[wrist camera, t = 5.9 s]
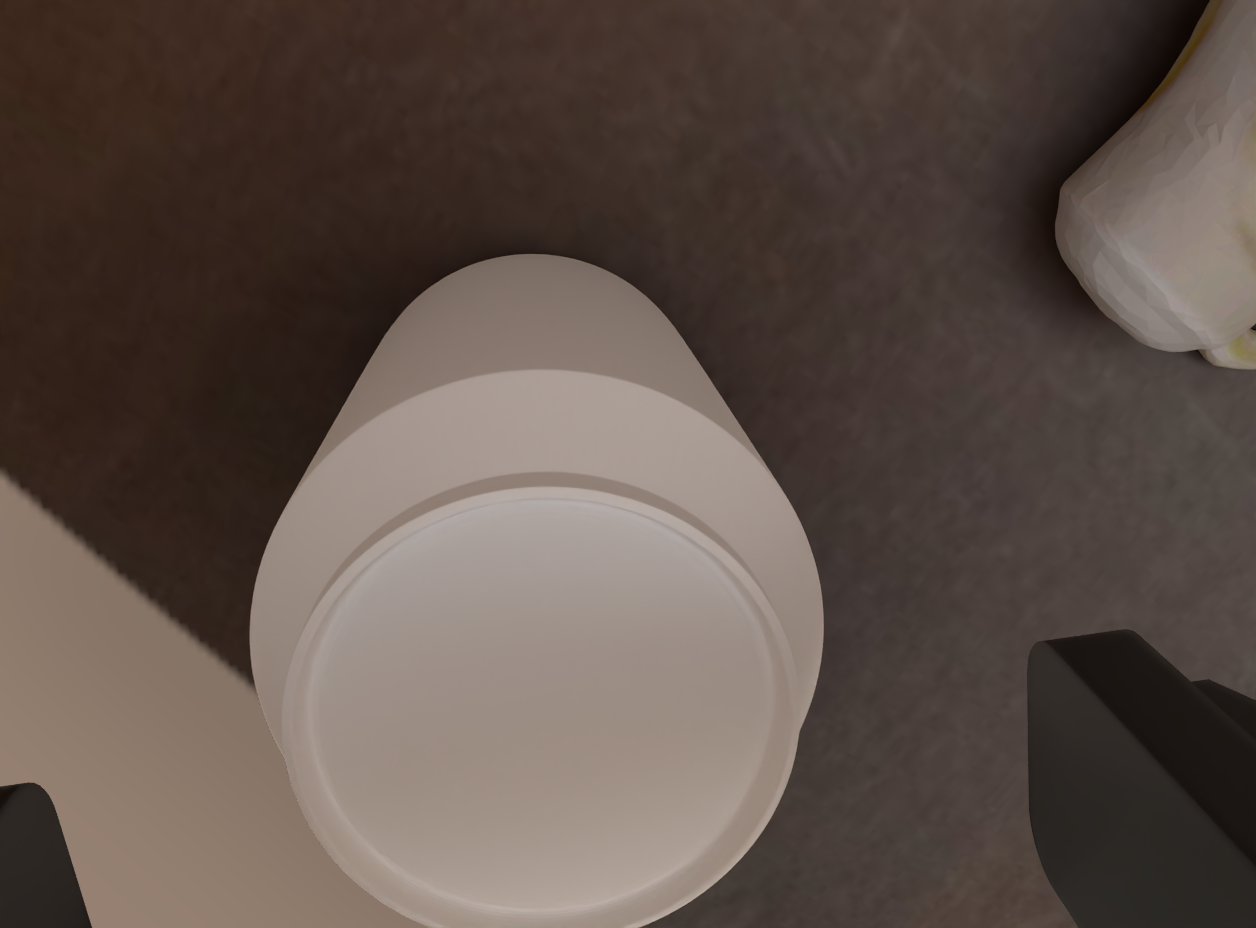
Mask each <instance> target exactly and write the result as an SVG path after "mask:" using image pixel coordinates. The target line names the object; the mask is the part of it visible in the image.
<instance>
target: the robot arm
mask: <svg viewBox="0 0 1256 928" xmlns="http://www.w3.org/2000/svg"><path fill="white" fill-rule="evenodd" d="M1027 690H1028V770H1029V812H1030V821H1031V827H1032V832H1033V837H1034V841H1035V845H1036V848H1037V852H1038V855H1039V858H1040V861H1041V864H1042V866H1043V869H1044V871H1045V873H1046V876H1047V878H1048V880H1049V882H1050V883H1051V885H1052V887H1053V889H1054V890H1055V892H1056V893H1057V895H1058V896H1059V898H1060V899H1061V901H1062V902H1063V904H1064V905H1065V907H1066V909H1067V910H1068V912H1069V913H1070V915H1071V916H1072V918H1073V919H1074V921H1075V922H1076V924H1077V925H1078V927H1079V928H1256V700H1253V699H1251V698H1249V697H1247V696H1245V695H1242V694H1240V693H1238V692H1236V691H1233V690H1231V689H1229V688H1227V687H1225V686H1222V685H1220V684H1218V683H1216V682H1213V681H1211V680H1209V679H1208V680H1201V681H1194V682H1190V681H1189V680H1188V679H1187V678H1186V677H1185V676H1184V675H1183V674H1182V673H1180V672H1179V671H1178V670H1177V669H1176V668H1175V667H1174V666H1173V665H1172V664H1171V663H1169V662H1168V661H1167V660H1166V659H1165V658H1164V657H1163V656H1162V655H1161V654H1159V653H1158V652H1157V651H1156V650H1155V649H1154V648H1153V647H1152V646H1151V645H1149V644H1148V643H1147V642H1146V641H1145V640H1144V639H1143V638H1142V637H1141V636H1139V635H1138V634H1137V633H1135V632H1134V631H1131V630H1125V629H1124V630H1117V631H1110V632H1103V633H1096V634H1089V635H1082V636H1074V637H1067V638H1060V639H1053V640H1046V641H1039V642H1037V643H1035V645H1034V646H1033V647H1032V649H1031V651H1030V655H1029V659H1028V669H1027ZM0 928H92V926H91V923H90V920H89V917H88V914H87V910H86V907H85V904H84V900H83V897H82V894H81V891H80V887H79V884H78V881H77V878H76V874H75V871H74V868H73V865H72V862H71V858H70V855H69V852H68V849H67V845H66V842H65V839H64V836H63V832H62V829H61V826H60V823H59V820H58V816H57V813H56V810H55V807H54V805H53V802H52V800H51V798H50V797H49V795H48V794H47V792H46V791H45V790H44V789H43V788H42V787H41V786H40V785H37V784H35V783H22V784H15V785H8V786H1V787H0Z"/></svg>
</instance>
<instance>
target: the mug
mask: <svg viewBox="0 0 1256 928" xmlns="http://www.w3.org/2000/svg"><path fill="white" fill-rule="evenodd" d="M1055 238H1056V243H1057V247H1058V249H1059V252H1060V254H1061V257H1062V259H1063V260H1064V262H1065V263H1066V265H1067V266H1068V268H1069V269H1070V271H1071V272H1072V273H1073V274H1074V275H1075V276H1076V278H1077V279H1078V281H1079V283H1080V285H1081V286H1082V287H1083V289H1084V290H1085V291H1086V293H1087V294H1088V295H1089V296H1090V298H1091V299H1092V300H1093V301H1094V303H1095V304H1096V305H1097V307H1098V308H1099V309H1100V310H1101V311H1102V312H1103V313H1104V314H1105V315H1106V316H1107V317H1108V318H1110V319H1111V320H1113V321H1114V322H1115V323H1117V324H1118V325H1119V326H1120V327H1121V328H1122V329H1123V330H1125V331H1126V332H1127V333H1129V334H1130V335H1131V336H1132V337H1133V338H1135V339H1136V340H1137V341H1139V342H1140V343H1143V344H1145V345H1147V346H1149V347H1152V348H1155V349H1159V350H1164V351H1169V352H1185V351H1191V350H1197V349H1198V350H1199V352H1200V353H1201V354H1202V356H1203V357H1204V358H1205V359H1206V360H1207V361H1209V362H1210V363H1211V364H1213V365H1214V366H1220V367H1227V368H1234V369H1256V331H1254V330H1252V329H1250V328H1251V327H1252V326H1253V325H1255V324H1256V0H1209V2H1208V4H1207V6H1206V8H1205V10H1204V12H1203V14H1202V16H1201V18H1200V19H1199V21H1198V23H1197V25H1196V27H1195V29H1194V31H1193V33H1192V36H1191V38H1190V39H1189V41H1188V43H1187V44H1186V46H1185V48H1184V49H1183V51H1182V52H1181V54H1180V56H1179V57H1178V59H1177V60H1176V62H1175V63H1174V65H1173V66H1172V68H1171V70H1170V71H1169V73H1168V74H1167V76H1166V77H1165V79H1164V80H1163V81H1162V83H1161V84H1160V85H1159V86H1158V88H1157V89H1156V90H1155V91H1154V92H1153V94H1152V95H1151V96H1150V97H1149V99H1148V100H1147V101H1146V102H1145V103H1144V104H1143V106H1142V107H1141V108H1140V109H1139V110H1138V111H1137V112H1136V113H1135V114H1134V115H1133V116H1132V117H1131V118H1130V119H1129V120H1128V121H1127V122H1126V123H1125V124H1124V125H1123V126H1122V127H1121V128H1120V129H1119V130H1118V131H1117V132H1116V133H1115V134H1114V135H1113V136H1112V137H1111V138H1110V139H1109V140H1108V141H1107V142H1106V143H1105V144H1104V145H1103V146H1102V147H1101V148H1099V149H1098V150H1097V151H1096V152H1095V153H1094V154H1093V155H1092V156H1091V157H1090V158H1089V159H1088V160H1087V161H1086V162H1085V163H1084V164H1083V165H1082V166H1081V167H1079V168H1078V169H1077V170H1076V171H1075V172H1074V173H1073V174H1072V175H1071V176H1070V177H1069V178H1068V179H1067V180H1066V181H1065V182H1064V184H1063V185H1062V187H1061V189H1060V196H1059V206H1058V211H1057V216H1056V221H1055Z"/></svg>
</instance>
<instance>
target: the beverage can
mask: <svg viewBox="0 0 1256 928" xmlns="http://www.w3.org/2000/svg"><path fill="white" fill-rule="evenodd" d="M823 632H824V619H823V603H822V594H821V587H820V582H819V576H818V572H817V568H816V564H815V560H814V557H813V554H812V551H811V548H810V545H809V542H808V539H807V537H806V534H805V532H804V530H803V527H802V525H801V523H800V521H799V519H798V517H797V515H796V513H795V511H794V509H793V507H792V506H791V504H790V502H789V500H788V499H787V497H786V495H785V494H784V492H783V491H782V489H781V488H780V486H779V484H778V483H777V481H776V480H775V478H774V477H773V475H772V474H771V472H770V470H769V469H768V467H767V466H766V464H765V463H764V461H763V460H762V458H761V457H760V455H759V454H758V452H757V451H756V449H755V448H754V446H753V444H752V443H751V441H750V440H749V438H748V437H747V435H746V434H745V432H744V431H743V429H742V428H741V426H740V425H739V423H738V422H737V420H736V418H735V417H734V415H733V414H732V412H731V411H730V409H729V408H728V406H727V405H726V403H725V402H724V400H723V399H722V397H721V396H720V394H719V393H718V391H717V390H716V388H715V386H714V385H713V383H712V382H711V380H710V379H709V377H708V376H707V374H706V373H705V371H704V370H703V368H702V367H701V365H700V364H699V362H698V361H697V359H696V358H695V356H694V355H693V353H692V352H691V350H690V349H689V347H688V346H687V344H686V343H685V341H684V340H683V339H682V337H681V336H680V334H679V333H678V332H677V330H676V329H675V327H674V326H673V325H672V323H671V322H670V321H669V320H668V318H667V317H666V316H665V315H664V314H663V313H662V312H661V311H660V309H659V308H658V307H657V306H656V305H655V304H654V303H653V302H652V301H651V300H650V299H649V298H647V297H646V296H645V295H644V294H643V293H642V292H640V291H639V290H638V289H636V288H635V287H634V286H632V285H631V284H629V283H628V282H626V281H625V280H623V279H621V278H620V277H618V276H616V275H614V274H613V273H611V272H608V271H606V270H604V269H602V268H600V267H597V266H595V265H592V264H589V263H586V262H583V261H579V260H576V259H572V258H567V257H562V256H555V255H545V254H519V255H510V256H503V257H498V258H493V259H489V260H485V261H482V262H478V263H475V264H473V265H470V266H467V267H465V268H462V269H460V270H458V271H456V272H454V273H452V274H450V275H448V276H446V277H445V278H443V279H441V280H440V281H438V282H437V283H435V284H434V285H432V286H431V287H429V288H428V289H427V290H425V291H424V292H423V293H422V294H421V295H419V296H418V297H417V298H416V299H415V300H414V301H413V302H412V303H411V304H410V305H409V306H408V307H407V308H406V309H405V310H404V311H403V312H402V313H401V315H400V316H399V317H398V318H397V320H396V321H395V322H394V323H393V325H392V326H391V327H390V329H389V330H388V331H387V333H386V334H385V336H384V338H383V339H382V341H381V342H380V344H379V346H378V347H377V349H376V350H375V352H374V354H373V356H372V357H371V359H370V361H369V362H368V364H367V366H366V367H365V369H364V371H363V373H362V374H361V376H360V378H359V380H358V381H357V383H356V385H355V386H354V388H353V390H352V392H351V393H350V395H349V397H348V399H347V400H346V402H345V404H344V406H343V407H342V409H341V411H340V413H339V414H338V416H337V418H336V420H335V421H334V423H333V425H332V427H331V428H330V430H329V432H328V434H327V435H326V437H325V439H324V441H323V442H322V444H321V446H320V448H319V449H318V451H317V453H316V455H315V456H314V458H313V460H312V462H311V463H310V465H309V467H308V469H307V470H306V472H305V474H304V476H303V477H302V479H301V481H300V483H299V484H298V486H297V488H296V490H295V491H294V493H293V495H292V497H291V498H290V500H289V502H288V504H287V505H286V507H285V509H284V511H283V513H282V515H281V516H280V518H279V520H278V522H277V524H276V526H275V528H274V530H273V533H272V535H271V537H270V539H269V542H268V544H267V547H266V550H265V552H264V555H263V558H262V561H261V564H260V568H259V571H258V575H257V579H256V583H255V588H254V593H253V600H252V607H251V617H250V653H251V663H252V671H253V677H254V682H255V687H256V691H257V695H258V699H259V702H260V705H261V708H262V712H263V715H264V717H265V720H266V723H267V725H268V728H269V730H270V732H271V735H272V737H273V739H274V741H275V742H276V745H277V747H278V749H279V750H280V752H281V754H282V756H283V758H284V759H285V763H286V768H287V772H288V776H289V779H290V782H291V786H292V789H293V792H294V794H295V797H296V800H297V802H298V804H299V807H300V809H301V811H302V813H303V815H304V817H305V819H306V821H307V823H308V824H309V826H310V828H311V830H312V831H313V833H314V834H315V836H316V838H317V839H318V841H319V842H320V843H321V845H322V846H323V847H324V849H325V850H326V852H327V853H328V854H329V855H330V857H331V858H332V859H333V860H334V861H335V862H336V863H337V865H338V866H339V867H340V868H341V869H342V870H343V871H344V872H345V873H346V874H347V875H348V876H349V877H350V878H351V879H352V880H354V881H355V882H356V883H357V884H358V885H359V886H360V887H362V888H363V889H364V890H366V891H367V892H368V893H369V894H371V895H372V896H373V897H375V898H376V899H378V900H379V901H380V902H382V903H383V904H385V905H387V906H388V907H390V908H391V909H393V910H395V911H397V912H398V913H400V914H402V915H404V916H406V917H408V918H410V919H412V920H414V921H416V922H418V923H420V924H422V925H425V926H427V927H430V928H639V927H642V926H644V925H647V924H649V923H651V922H654V921H656V920H658V919H660V918H662V917H664V916H666V915H668V914H670V913H672V912H673V911H675V910H677V909H679V908H680V907H682V906H684V905H686V904H687V903H689V902H690V901H692V900H693V899H695V898H696V897H698V896H699V895H700V894H702V893H703V892H705V891H706V890H707V889H708V888H710V887H711V886H712V885H714V884H715V883H716V882H717V881H718V880H719V879H721V878H722V877H723V876H724V875H725V874H726V873H727V872H728V871H729V870H730V869H731V868H732V867H733V866H734V865H735V864H736V863H737V862H738V861H739V860H740V859H741V858H742V857H743V856H744V855H745V853H746V852H747V851H748V850H749V849H750V847H751V846H752V845H753V844H754V842H755V841H756V840H757V838H758V837H759V835H760V834H761V833H762V831H763V830H764V828H765V827H766V825H767V823H768V822H769V820H770V818H771V817H772V815H773V813H774V811H775V809H776V807H777V805H778V803H779V801H780V799H781V797H782V795H783V792H784V790H785V787H786V785H787V782H788V779H789V776H790V773H791V770H792V766H793V763H794V759H795V754H796V749H797V744H798V737H799V731H800V729H801V726H802V724H803V722H804V720H805V717H806V715H807V712H808V710H809V707H810V704H811V701H812V698H813V694H814V691H815V687H816V683H817V679H818V675H819V669H820V664H821V657H822V649H823Z"/></svg>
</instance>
